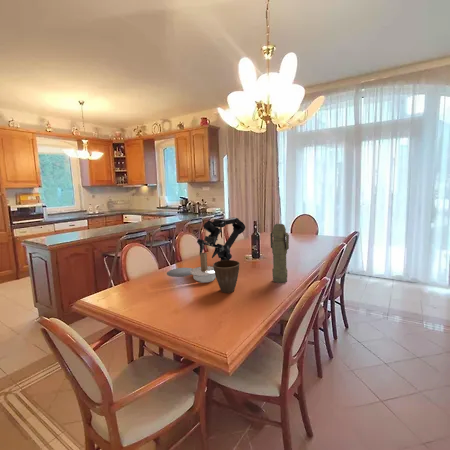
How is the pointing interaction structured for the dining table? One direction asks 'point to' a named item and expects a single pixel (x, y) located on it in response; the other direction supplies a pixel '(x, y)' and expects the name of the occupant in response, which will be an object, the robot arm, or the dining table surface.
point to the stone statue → (279, 252)
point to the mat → (179, 272)
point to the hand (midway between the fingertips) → (206, 256)
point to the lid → (203, 267)
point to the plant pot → (226, 274)
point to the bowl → (204, 278)
